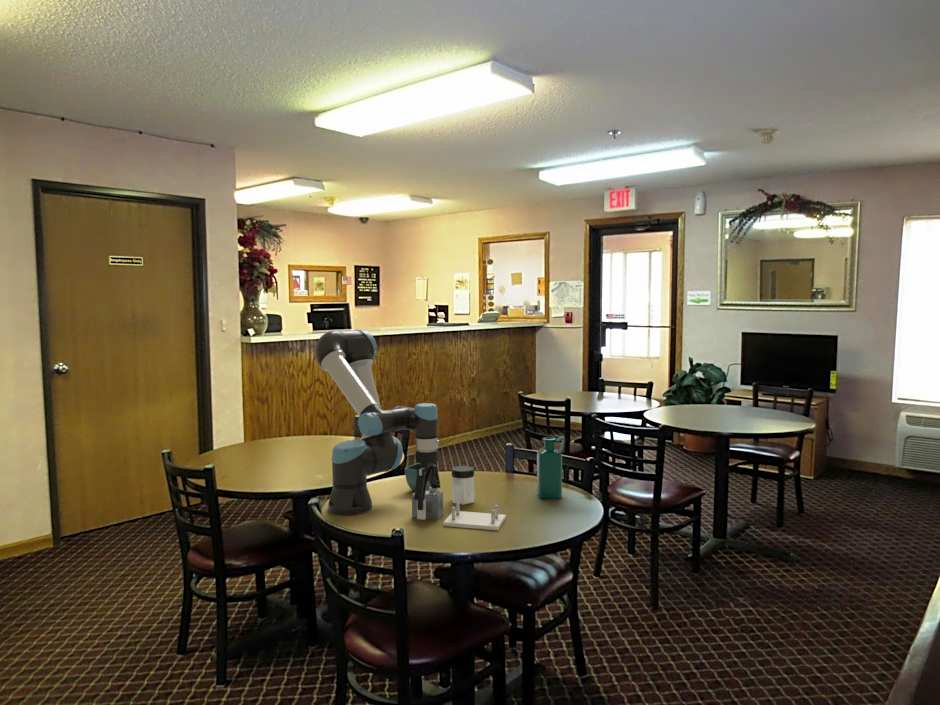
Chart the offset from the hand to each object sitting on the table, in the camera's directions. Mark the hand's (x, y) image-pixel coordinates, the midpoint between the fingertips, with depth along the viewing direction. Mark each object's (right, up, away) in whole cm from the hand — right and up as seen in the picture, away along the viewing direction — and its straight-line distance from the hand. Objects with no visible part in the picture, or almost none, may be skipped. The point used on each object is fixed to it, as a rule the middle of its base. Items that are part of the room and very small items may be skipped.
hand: (427, 512), depth 217 cm
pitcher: (+44, +1, +22) cm, 50 cm away
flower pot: (-5, +1, +31) cm, 32 cm away
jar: (+12, 0, +17) cm, 20 cm away
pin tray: (+16, -1, -6) cm, 17 cm away
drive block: (0, -1, 0) cm, 1 cm away
